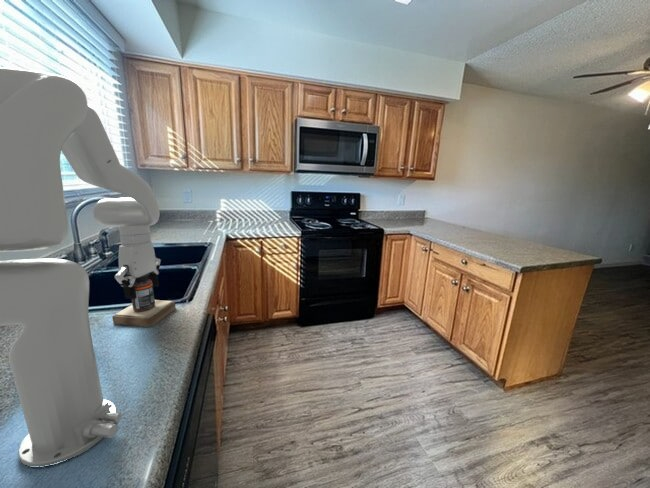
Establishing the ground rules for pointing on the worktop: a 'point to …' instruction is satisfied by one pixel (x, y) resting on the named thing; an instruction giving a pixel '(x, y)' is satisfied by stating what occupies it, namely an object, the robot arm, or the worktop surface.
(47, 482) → the worktop surface
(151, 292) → the supplement bottle
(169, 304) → the light wooden flat block
